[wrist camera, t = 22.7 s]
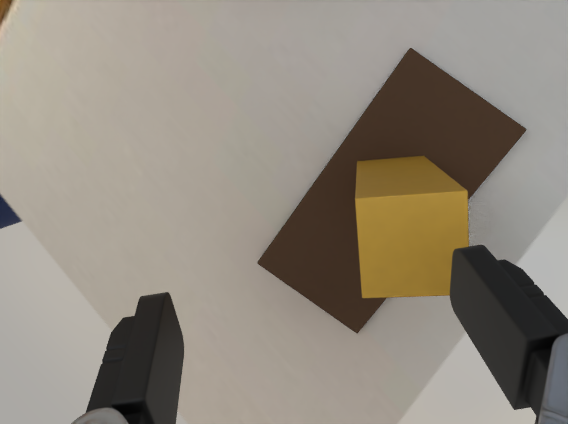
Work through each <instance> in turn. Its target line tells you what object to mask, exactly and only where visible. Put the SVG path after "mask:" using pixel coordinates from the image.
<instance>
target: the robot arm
mask: <svg viewBox="0 0 568 424" xmlns="http://www.w3.org/2000/svg"><path fill="white" fill-rule="evenodd" d="M450 300H451V304H452V307H453V310H454V312H455V314H456V316H457V317H458V319H459V321H460V322H461V324H462V326H463V327H464V329H465V331H466V332H467V334H468V335H469V337H470V339H471V340H472V342H473V344H474V345H475V347H476V348H477V350H478V352H479V353H480V355H481V357H482V358H483V360H484V362H485V363H486V365H487V366H488V368H489V370H490V371H491V373H492V375H493V376H494V378H495V379H496V381H497V383H498V384H499V386H500V387H501V389H502V391H503V393H504V394H505V396H506V397H507V399H508V401H509V402H510V404H511V406H512V407H513V409H514V410H516V409H523V408H528V407H531V408H532V410H533V411H534V413H535V414H536V420H535V424H568V319H567V318H566V317H565V316H564V315H563V314H562V312H561V311H560V310H559V309H558V308H557V307H556V306H555V305H554V304H553V303H552V302H551V300H550V299H549V298H548V297H547V296H546V295H545V296H544V293H543V292H542V291H541V289H540V288H539V287H538V286H537V285H534V282H533V280H532V279H531V278H530V277H529V276H528V275H527V274H526V273H525V272H524V271H523V269H521V268H519V267H517V266H516V265H514V264H512V263H510V262H509V261H507V260H498V261H497V260H496V259H495V257H494V256H493V255H492V254H491V253H490V252H489V250H488V249H487V248H486V247H485V246H484V245H476V246H470V247H463V248H457V249H455V250H454V251H453V255H452V267H451V280H450ZM106 349H107V351H105V354H104V357H103V360H102V361H103V363H102V364H101V366H100V369H99V373H98V376H97V379H96V382H95V385H94V388H93V391H92V395H91V398H90V401H89V404H88V407H87V410H86V413H85V414H83V415H82V416H80V417H79V418H77V419H76V420H75V421H74V422H73V423H71V424H176V416H177V408H178V400H179V391H180V383H181V375H182V367H183V358H184V342H183V335H182V331H181V328H180V325H179V322H178V318H177V315H176V312H175V309H174V305H173V302H172V299H171V296H170V294H169V293H168V292H166V293H159V294H153V295H146V296H141V297H140V299H139V302H138V305H137V309H136V313H135V316H131V317H125V318H123V319H122V320H121V321H120V322H119V324H118V325H117V326H116V327H115V328H114V330H113V331H112V332H111V335H110V338H109V341H108V344H107V348H106Z"/></svg>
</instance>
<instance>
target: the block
mask: <svg viewBox="0 0 568 424" xmlns="http://www.w3.org/2000/svg"><path fill="white" fill-rule="evenodd" d="M355 206H356V220H357V233H358V247H359V261H360V275H361V289H362V298H385V297H416V296H446V295H450V280H451V267H452V255H453V251H454V250H455V249H457V248H463V247H469V232H468V191H467V190H466V189H465V188H463V187H462V186H461V185H460V184H458V183H457V182H456V181H455V180H453V179H452V178H451V177H450V176H448V175H447V174H446V173H445V172H443V171H442V170H441V169H440V168H438V167H437V166H436V165H435V164H433V163H432V162H431V161H430V160H428V159H427V158H426V157H425V156H414V157H402V158H390V159H378V160H366V161H357V172H356V191H355Z"/></svg>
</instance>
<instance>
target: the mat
mask: <svg viewBox="0 0 568 424" xmlns="http://www.w3.org/2000/svg"><path fill="white" fill-rule="evenodd" d="M525 131H526V129H525V128H524V127H523V126H521V125H520V124H518V123H517V122H515V121H514V120H513V119H511V118H510V117H508V116H507V115H505V114H504V113H503V112H501V111H500V110H498V109H497V108H496V107H494V106H493V105H491V104H490V103H488V102H487V101H486V100H484V99H483V98H481V97H480V96H478V95H477V94H476V93H474V92H473V91H471V90H470V89H469V88H467V87H466V86H464V85H463V84H461V83H460V82H459V81H457V80H456V79H454V78H453V77H451V76H450V75H449V74H447V73H446V72H444V71H443V70H442V69H440V68H439V67H437V66H436V65H434V64H433V63H432V62H430V61H429V60H427V59H426V58H424V57H423V56H422V55H420V54H419V53H417V52H416V51H414V50H413V49H412V48H410V49H409V50H408V52H407V53H406V54H405V56H404V57H403V59H402V60H401V61H400V63H399V64H398V66H397V67H396V68H395V70H394V71H393V73H392V74H391V75H390V77H389V78H388V80H387V81H386V83H385V84H384V85H383V87H382V88H381V90H380V91H379V92H378V94H377V95H376V97H375V98H374V99H373V101H372V102H371V104H370V105H369V106H368V108H367V109H366V111H365V112H364V113H363V115H362V116H361V118H360V119H359V121H358V122H357V123H356V125H355V126H354V128H353V129H352V130H351V132H350V133H349V135H348V136H347V137H346V139H345V140H344V142H343V143H342V144H341V146H340V147H339V149H338V150H337V151H336V153H335V154H334V156H333V157H332V159H331V160H330V161H329V163H328V164H327V166H326V167H325V168H324V170H323V171H322V173H321V174H320V175H319V177H318V178H317V180H316V181H315V182H314V184H313V185H312V187H311V188H310V189H309V191H308V192H307V194H306V195H305V197H304V198H303V199H302V201H301V202H300V204H299V205H298V206H297V208H296V209H295V211H294V212H293V213H292V215H291V216H290V218H289V219H288V220H287V222H286V223H285V225H284V226H283V227H282V229H281V230H280V232H279V233H278V235H277V236H276V237H275V239H274V240H273V242H272V243H271V244H270V246H269V247H268V249H267V250H266V251H265V253H264V254H263V256H262V257H261V258H260V260H259V261H258V264H259V265H260V266H262V267H263V268H265V269H266V270H268V271H269V272H270V273H272V274H273V275H275V276H276V277H277V278H279V279H280V280H282V281H283V282H285V283H286V284H287V285H289V286H290V287H292V288H293V289H295V290H296V291H297V292H299V293H300V294H302V295H303V296H304V297H306V298H307V299H309V300H310V301H312V302H313V303H314V304H316V305H317V306H319V307H320V308H322V309H323V310H324V311H326V312H327V313H329V314H330V315H331V316H333V317H334V318H336V319H337V320H339V321H340V322H341V323H343V324H344V325H346V326H347V327H349V328H350V329H351V330H353V331H354V332H356V333H358V332H359V331H360V329H361V328H362V327H363V326H364V325H365V323H366V322H367V321H368V320H369V319H370V317H371V316H372V315H373V314H374V313H375V311H376V310H377V309H378V308H379V307H380V305H381V304H382V303H383V302H384V301H385V299H386V298H387V297H385V298H362V289H361V275H360V261H359V247H358V233H357V220H356V206H355V191H356V172H357V161H366V160H378V159H390V158H402V157H414V156H425V157H426V158H427V159H428V160H430V161H431V162H432V163H433V164H435V165H436V166H437V167H438V168H440V169H441V170H442V171H443V172H445V173H446V174H447V175H448V176H450V177H451V178H452V179H453V180H455V181H456V182H457V183H458V184H460V185H461V186H462V187H463V188H465V189H466V190H467V191H468V200H469V198H470V197H471V196H472V195H473V194H474V192H475V191H476V190H477V189H478V188H479V186H480V185H481V184H482V183H483V182H484V180H485V179H486V178H487V177H488V176H489V174H490V173H491V172H492V171H493V169H494V168H495V167H496V166H497V165H498V163H499V162H500V161H501V160H502V159H503V157H504V156H505V155H506V154H507V153H508V151H509V150H510V149H511V148H512V147H513V145H514V144H515V143H516V142H517V141H518V139H519V138H520V137H521V136H522V135H523V133H524V132H525Z"/></svg>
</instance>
